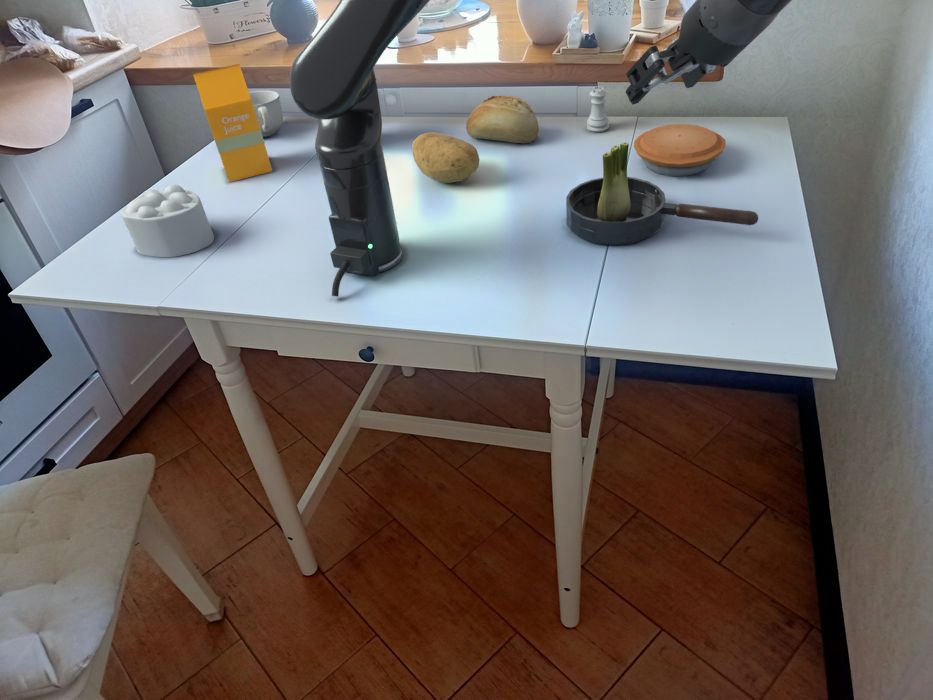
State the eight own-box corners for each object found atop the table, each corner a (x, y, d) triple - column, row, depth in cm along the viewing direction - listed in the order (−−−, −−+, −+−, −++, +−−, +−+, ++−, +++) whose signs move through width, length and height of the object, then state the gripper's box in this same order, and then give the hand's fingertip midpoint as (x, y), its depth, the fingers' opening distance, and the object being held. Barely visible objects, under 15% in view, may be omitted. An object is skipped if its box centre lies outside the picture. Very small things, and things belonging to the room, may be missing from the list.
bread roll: (476, 127, 148) (473, 89, 143) (546, 130, 144) (544, 91, 138) (460, 146, 142) (455, 107, 137) (532, 150, 137) (530, 109, 132)
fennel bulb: (622, 208, 115) (625, 137, 107) (638, 221, 111) (642, 148, 104) (590, 217, 114) (590, 146, 106) (604, 231, 110) (606, 158, 102)
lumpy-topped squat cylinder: (165, 223, 129) (147, 179, 123) (227, 228, 125) (210, 182, 120) (129, 254, 121) (108, 208, 116) (193, 259, 118) (174, 213, 112)
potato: (459, 199, 124) (454, 156, 119) (404, 180, 132) (397, 139, 127) (495, 177, 129) (492, 135, 124) (440, 161, 137) (435, 120, 132)
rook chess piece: (612, 125, 142) (613, 85, 137) (603, 134, 139) (604, 93, 134) (592, 123, 144) (592, 83, 139) (582, 131, 141) (582, 91, 136)
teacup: (238, 129, 162) (227, 94, 157) (285, 119, 164) (275, 84, 159) (242, 151, 152) (230, 115, 146) (292, 140, 153) (282, 104, 148)
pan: (650, 253, 105) (652, 228, 102) (553, 240, 111) (553, 215, 108) (672, 205, 115) (674, 181, 113) (582, 195, 121) (582, 172, 118)
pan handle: (756, 228, 103) (758, 216, 101) (660, 217, 108) (661, 205, 107) (758, 221, 104) (760, 209, 103) (663, 211, 109) (664, 199, 108)
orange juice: (273, 171, 142) (242, 69, 129) (228, 182, 140) (193, 80, 127) (266, 157, 148) (237, 58, 135) (224, 168, 146) (190, 68, 133)
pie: (639, 142, 135) (640, 116, 131) (726, 146, 130) (729, 119, 126) (625, 179, 124) (626, 152, 120) (719, 185, 119) (723, 157, 116)
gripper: (770, -33, 79) (691, 50, 94) (664, -7, 75) (600, 76, 90) (798, 28, 78) (714, 102, 94) (693, 58, 74) (623, 129, 90)
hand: (658, 89), depth 92 cm, fingers open, 8 cm apart
